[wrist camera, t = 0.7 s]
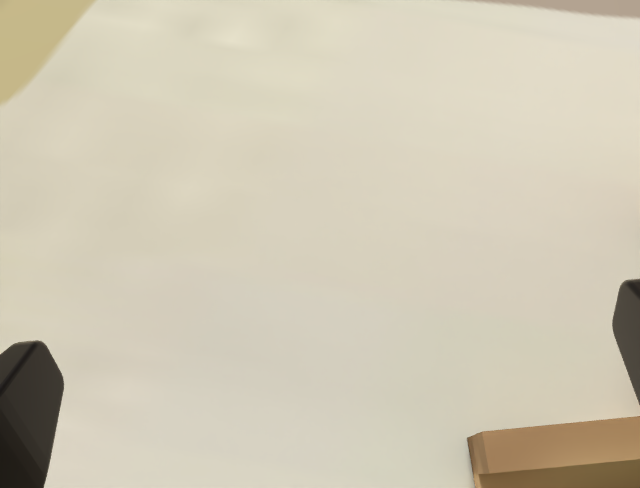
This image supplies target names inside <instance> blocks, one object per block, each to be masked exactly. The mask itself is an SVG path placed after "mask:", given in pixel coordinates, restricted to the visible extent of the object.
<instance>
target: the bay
mask: <svg viewBox="0 0 640 488" xmlns="http://www.w3.org/2000/svg"><path fill="white" fill-rule="evenodd" d="M467 440H468V446H469V452H470V458H471V464H472V470H473V475H474V481H475V487H476V488H640V416H637V417H627V418H617V419H607V420H596V421H586V422H576V423H566V424H556V425H545V426H535V427H525V428H515V429H505V430H494V431H484V432H480V433H478V434H475V435H473V436H471V437H468V438H467Z"/></svg>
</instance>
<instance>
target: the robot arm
mask: <svg viewBox="0 0 640 488" xmlns="http://www.w3.org/2000/svg"><path fill="white" fill-rule="evenodd" d="M612 326H613V332H614V336H615V339H616V342H617V344H618V347H619V350H620V353H621V355H622V358H623V361H624V364H625V366H626V369H627V372H628V375H629V377H630V380H631V383H632V385H633V388H634V391H635V394H636V396H637V399H638V402H639V405H640V279H632V280H626V281H624V282H623V283H622V284H621V286H620V289H619V293H618V298H617V302H616V307H615V311H614V316H613V323H612ZM63 390H64V381H63V376H62V373H61V371H60V370H59V368H58V366H57V364H56V362H55V360H54V359H53V357H52V355H51V353H50V351H49V349H48V348H47V346H46V345H45V344H44V343H43V342H42V341H37V340H36V341H26V342H18V343H15V344H13V345H12V346H10V347H9V348H8V349H7V350H5V351H4V352H3V353H2V354H0V488H44V484H45V481H46V477H47V473H48V468H49V464H50V459H51V453H52V448H53V443H54V438H55V432H56V427H57V422H58V417H59V411H60V406H61V401H62V396H63Z"/></svg>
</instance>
